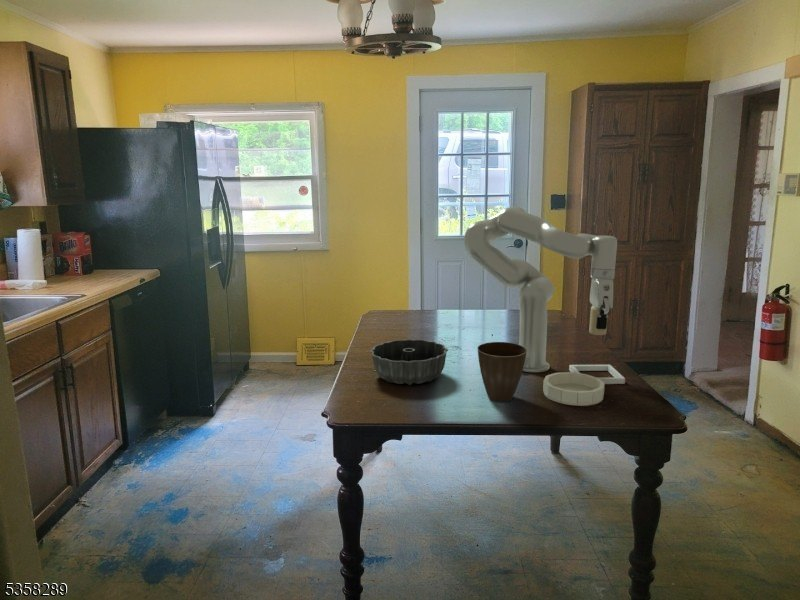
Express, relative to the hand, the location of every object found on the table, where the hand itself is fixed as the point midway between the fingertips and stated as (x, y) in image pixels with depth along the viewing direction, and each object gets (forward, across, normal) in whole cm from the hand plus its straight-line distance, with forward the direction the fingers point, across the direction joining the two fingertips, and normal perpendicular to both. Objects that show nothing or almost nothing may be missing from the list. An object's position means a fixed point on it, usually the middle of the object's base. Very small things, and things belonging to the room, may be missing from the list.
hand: (598, 325), depth 197 cm
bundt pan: (+19, +1, +64) cm, 66 cm away
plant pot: (+19, -19, +35) cm, 44 cm away
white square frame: (+18, 0, -1) cm, 18 cm away
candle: (+3, 0, 0) cm, 3 cm away
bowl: (+18, -17, +12) cm, 27 cm away
